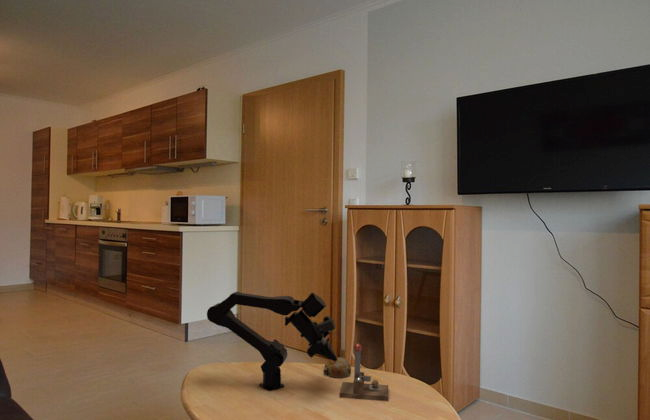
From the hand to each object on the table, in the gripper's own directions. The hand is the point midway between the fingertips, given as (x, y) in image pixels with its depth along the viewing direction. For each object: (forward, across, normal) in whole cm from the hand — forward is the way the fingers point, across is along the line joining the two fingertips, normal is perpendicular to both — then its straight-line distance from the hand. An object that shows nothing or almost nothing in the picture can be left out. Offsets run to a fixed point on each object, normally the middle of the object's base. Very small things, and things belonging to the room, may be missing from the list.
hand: (336, 360), depth 157 cm
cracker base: (+15, 0, 0) cm, 15 cm away
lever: (+11, 0, -1) cm, 11 cm away
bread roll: (+7, +17, +9) cm, 20 cm away
